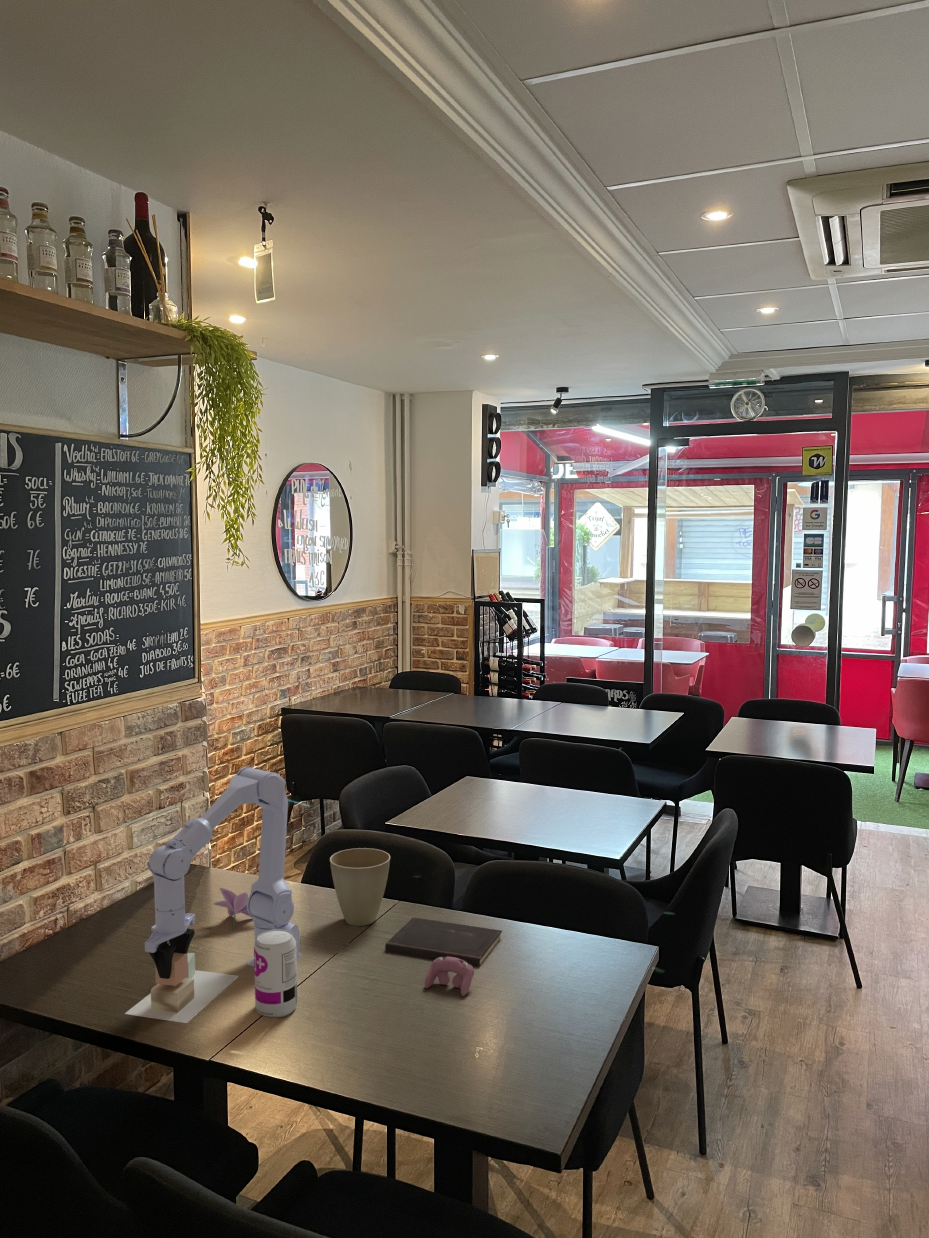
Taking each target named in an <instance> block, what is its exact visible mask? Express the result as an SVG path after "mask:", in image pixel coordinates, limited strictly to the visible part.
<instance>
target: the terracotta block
mask: <svg viewBox="0 0 929 1238" xmlns="http://www.w3.org/2000/svg"><path fill="white" fill-rule="evenodd" d="M154 966H155V967H154V969H155V973H154V974H155V984H165V985H172V986H176V985H177V984H179V983H180V982H181V981H182V980H183V979H185V978H186V977H187V976H188V955H187V954H182V953H174V954H173V958H172V968H171V975H170V978H169V979H164V978H160V977H159V974H158V971H157V968H156V965H155V964H154Z"/></svg>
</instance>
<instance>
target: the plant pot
mask: <svg viewBox="0 0 929 1238" xmlns="http://www.w3.org/2000/svg"><path fill="white" fill-rule="evenodd" d="M329 862H330V871H331V877H332V881H333V885H334V890H335V895H336V897H337V901H338V905H339V908H340V910H341V913H342V915H343V918H344V921H345V923H346V924H348V925H351V926H354V927H357V926H358V927H362V926H363V927H364V926H369V925H371V924H373V923H374V922H375V921H376V919H377V916H378V914H379V911H380V908H381V905H382V901H383V897H384V894H385V891H386V886H387V882H388V877H389V871H390V863H391V855H390V853H388V852H386V851H384V850H381V849H377V848H367V847H363V848H361V847H358V848H355V847H354V848H350V849H349V848H348V849H344V850H339V851H338V852H335V853H333V854H332V855H331V856H330V857H329Z"/></svg>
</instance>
